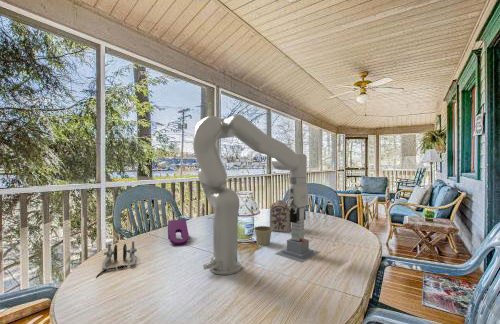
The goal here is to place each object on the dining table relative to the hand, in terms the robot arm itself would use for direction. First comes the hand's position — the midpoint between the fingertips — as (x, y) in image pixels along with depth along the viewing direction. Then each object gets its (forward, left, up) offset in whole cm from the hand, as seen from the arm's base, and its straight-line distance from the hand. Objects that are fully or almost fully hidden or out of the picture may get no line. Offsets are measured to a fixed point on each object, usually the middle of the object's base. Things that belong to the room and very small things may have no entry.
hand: (297, 220), depth 115 cm
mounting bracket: (-24, +59, -16) cm, 65 cm away
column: (0, 0, -9) cm, 9 cm away
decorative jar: (+31, +31, -16) cm, 47 cm away
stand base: (0, 0, -16) cm, 16 cm away
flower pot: (0, +20, -16) cm, 26 cm away
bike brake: (-58, +48, -16) cm, 77 cm away
